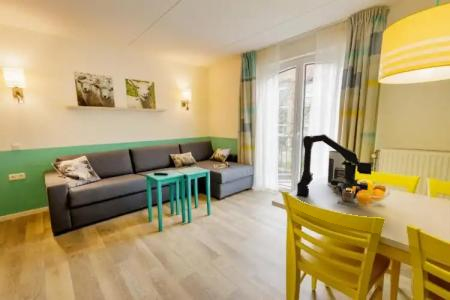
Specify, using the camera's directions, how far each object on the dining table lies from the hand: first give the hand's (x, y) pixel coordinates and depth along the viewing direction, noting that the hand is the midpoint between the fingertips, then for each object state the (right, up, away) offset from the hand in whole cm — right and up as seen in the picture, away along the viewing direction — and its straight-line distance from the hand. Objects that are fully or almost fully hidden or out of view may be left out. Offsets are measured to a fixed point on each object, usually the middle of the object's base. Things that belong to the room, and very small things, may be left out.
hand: (347, 197), depth 128 cm
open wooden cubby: (0, -1, 0) cm, 1 cm away
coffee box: (+5, 0, +18) cm, 19 cm away
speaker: (+9, +2, +32) cm, 33 cm away
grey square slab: (0, -3, 0) cm, 3 cm away
